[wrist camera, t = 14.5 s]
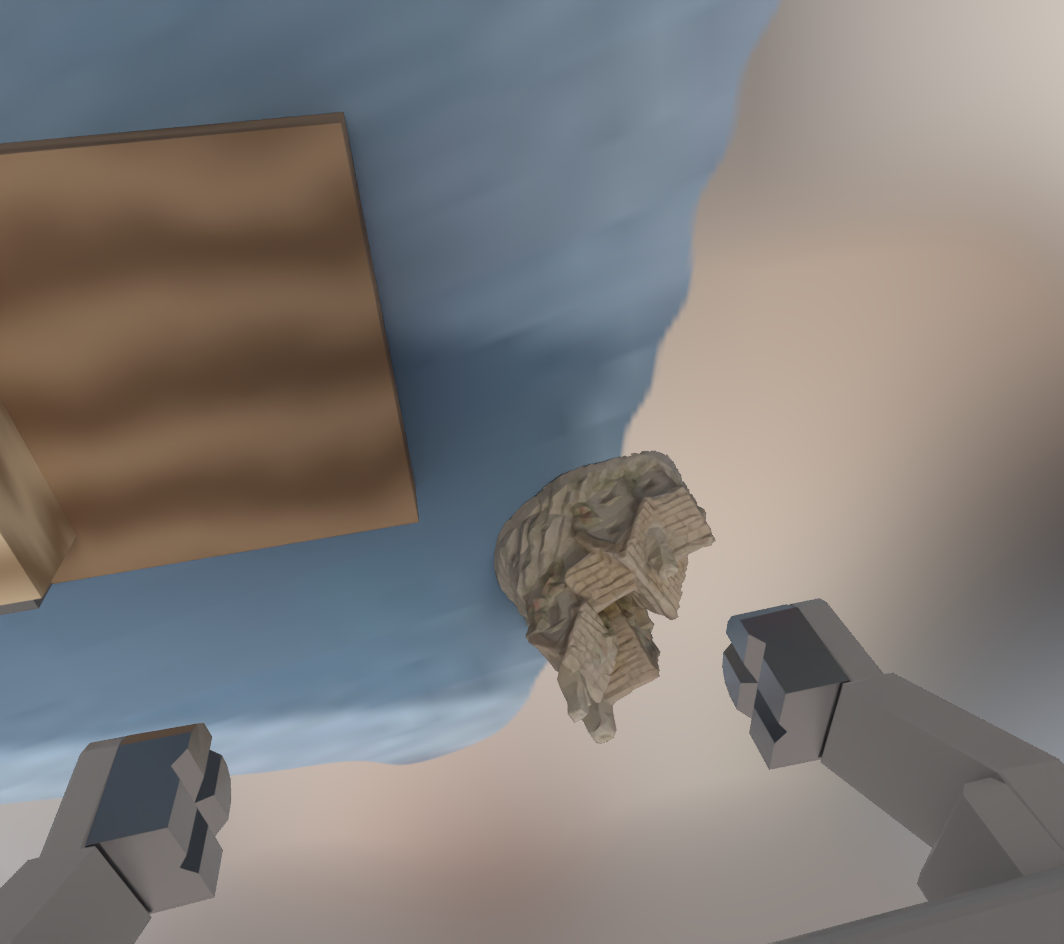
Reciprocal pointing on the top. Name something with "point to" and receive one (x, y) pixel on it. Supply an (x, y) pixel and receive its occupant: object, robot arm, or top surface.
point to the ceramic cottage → (601, 575)
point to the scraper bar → (27, 521)
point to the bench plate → (198, 341)
